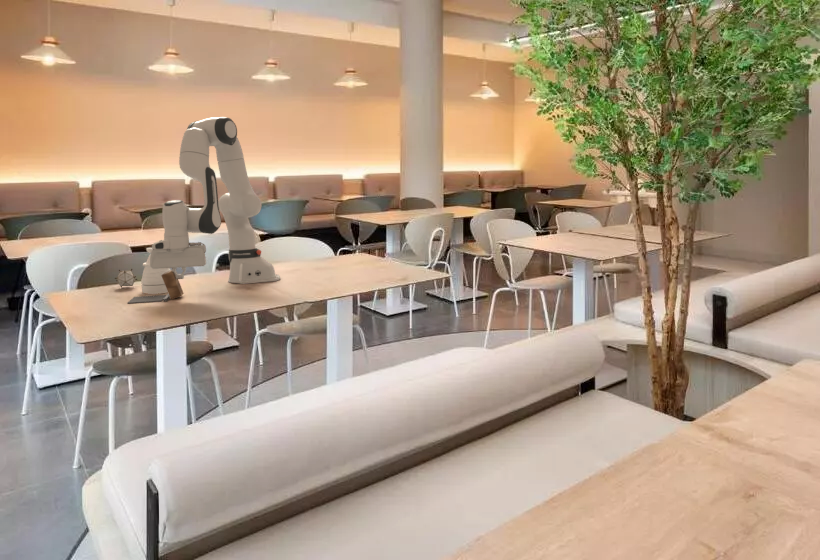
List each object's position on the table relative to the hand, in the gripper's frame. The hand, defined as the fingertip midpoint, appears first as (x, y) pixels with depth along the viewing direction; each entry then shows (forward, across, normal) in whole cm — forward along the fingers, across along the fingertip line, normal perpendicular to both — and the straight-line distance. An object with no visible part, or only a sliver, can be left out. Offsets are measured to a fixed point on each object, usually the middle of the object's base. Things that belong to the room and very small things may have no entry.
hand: (179, 278), depth 245 cm
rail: (+7, +5, 0) cm, 9 cm away
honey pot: (+8, +11, -19) cm, 24 cm away
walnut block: (+7, +2, 0) cm, 7 cm away
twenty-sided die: (+8, +26, -32) cm, 42 cm away
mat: (+7, +12, 0) cm, 14 cm away
